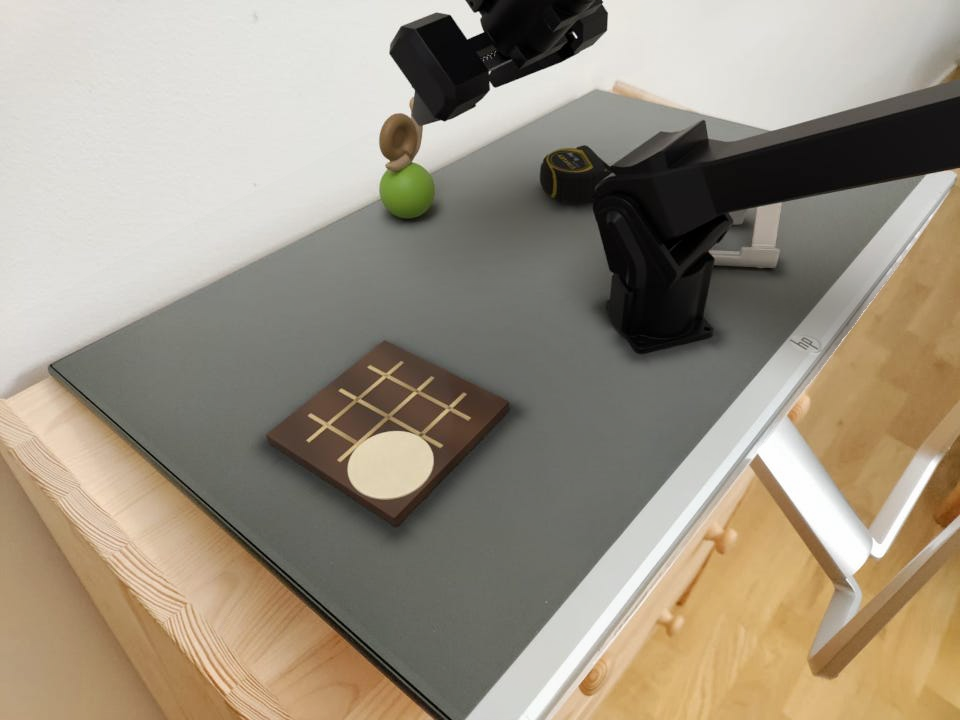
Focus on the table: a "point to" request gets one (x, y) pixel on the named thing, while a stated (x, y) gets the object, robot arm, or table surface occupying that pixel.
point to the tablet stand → (755, 240)
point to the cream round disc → (390, 465)
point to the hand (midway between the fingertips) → (456, 100)
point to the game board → (388, 421)
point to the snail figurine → (404, 168)
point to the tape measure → (572, 174)
